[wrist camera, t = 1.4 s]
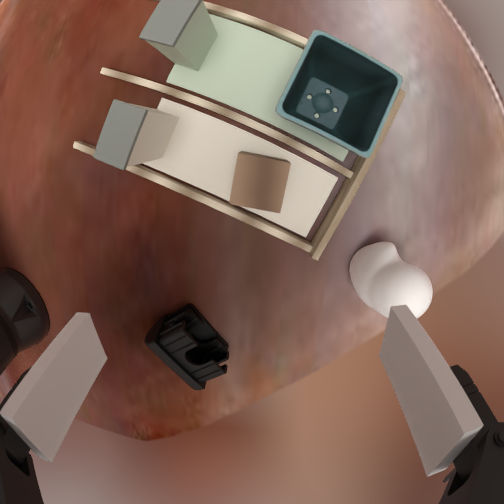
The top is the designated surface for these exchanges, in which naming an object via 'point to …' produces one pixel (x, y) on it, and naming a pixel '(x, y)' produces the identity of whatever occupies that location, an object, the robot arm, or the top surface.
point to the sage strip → (229, 63)
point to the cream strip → (207, 156)
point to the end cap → (189, 346)
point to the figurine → (389, 280)
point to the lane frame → (352, 176)
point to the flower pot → (340, 93)
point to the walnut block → (259, 181)
